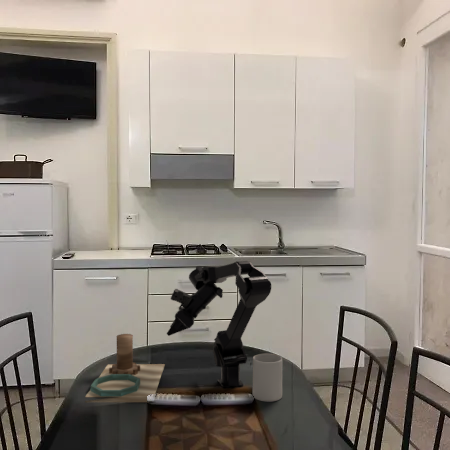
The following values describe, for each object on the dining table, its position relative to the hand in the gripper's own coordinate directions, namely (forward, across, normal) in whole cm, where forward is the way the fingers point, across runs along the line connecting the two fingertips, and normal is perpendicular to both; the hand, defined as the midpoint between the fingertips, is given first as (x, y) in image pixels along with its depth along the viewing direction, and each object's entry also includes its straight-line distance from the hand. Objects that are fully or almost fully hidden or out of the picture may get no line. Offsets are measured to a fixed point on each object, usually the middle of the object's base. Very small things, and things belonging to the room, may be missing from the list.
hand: (169, 331), depth 155 cm
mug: (-12, +20, +31) cm, 39 cm away
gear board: (+17, +13, +2) cm, 21 cm away
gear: (+18, +7, -2) cm, 19 cm away
